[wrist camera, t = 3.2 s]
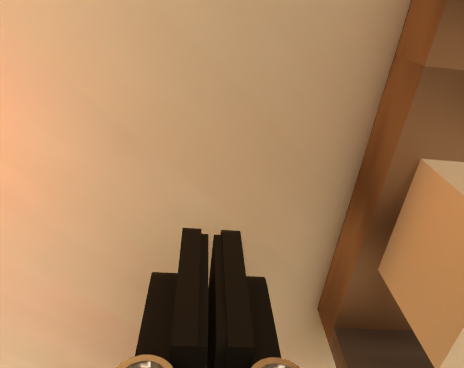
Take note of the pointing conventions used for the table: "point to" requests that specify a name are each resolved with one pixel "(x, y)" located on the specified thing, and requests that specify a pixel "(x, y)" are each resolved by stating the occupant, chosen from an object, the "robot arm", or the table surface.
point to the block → (431, 260)
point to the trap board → (395, 188)
